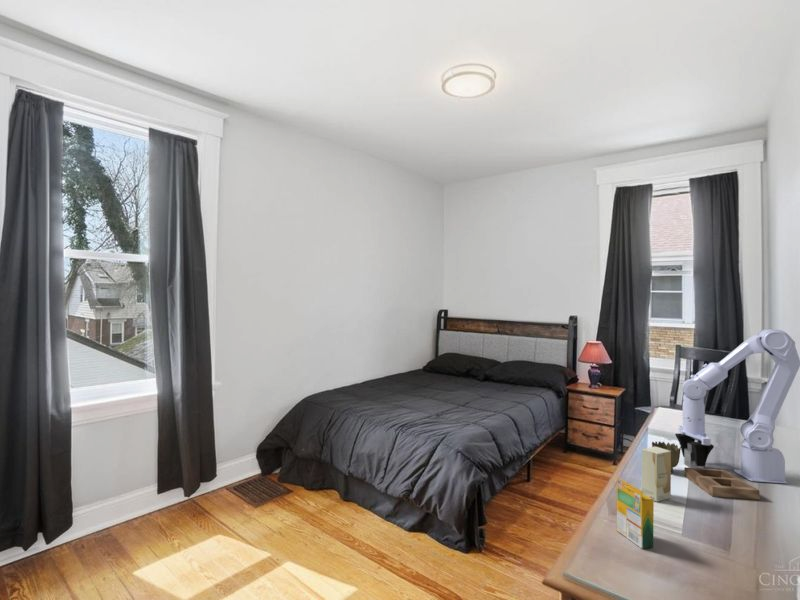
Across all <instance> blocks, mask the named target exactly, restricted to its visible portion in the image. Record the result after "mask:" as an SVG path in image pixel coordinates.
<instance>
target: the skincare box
mask: <svg viewBox="0 0 800 600" xmlns="http://www.w3.org/2000/svg"><path fill="white" fill-rule="evenodd" d="M640 470H641V472H640V473H641V479H640V481H641V482H640V483H641V484H640V490H641V491H642V494H644V495H646V496H648V497H650V498H652V499H653V500H654V502H661V501H666V500H669V499H671V496H672V495H671V494H672V493H671V490H672V487H671V485H672V481H671V480H672V476H671V475H672V474H671V473H672V472H671V451H669V450H666V449H662V448H659V447H652V446H650V447H649V446H648V447H647V448H641V469H640Z"/></svg>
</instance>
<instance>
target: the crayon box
mask: <svg viewBox="0 0 800 600" xmlns="http://www.w3.org/2000/svg"><path fill="white" fill-rule="evenodd" d="M654 502H655V501H654V500H653V499H652V498H650V497H648V496H646V495H644V494H642V491H641V488H640V489H639V488H638V487H636V486H635V485H632V484H630V483H628V482H626V481H625V480H623V479H622V478H619V477H616V532H618V533H619V534H621V535H622V536H624V537H625V538H626V539H628V540H629V541H630V542H632V543H634V545H636V546H637V547H639V548H640V549H642V550H643V549H644V550H645V549H651V548H654V518H655V517H654V507H655V505H654V504H655V503H654Z"/></svg>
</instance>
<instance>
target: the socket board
mask: <svg viewBox="0 0 800 600" xmlns="http://www.w3.org/2000/svg"><path fill="white" fill-rule="evenodd" d="M683 468H684V477H685V478H687V479H688V480H689V481H690V482H692V483H693V484H695V485H696V486H697V487H699V488H700V489H701V490H703V491H704V492H706V494H708V495H709V496H712V498H713V497H714V498H725V499H726V498H727V499H739V500H741V499H742V500H753V501H760V490H759V489H758V488H756V487H754V486H753V485H751V484H749V483H748V482H747V481H744V480H743V479H741V478H739V477H738V476H737V475H735V474H733V473H732V472H730V471H727V470H726V469H714V468H703V469H700V468H689V467H687V466H686V467H683Z"/></svg>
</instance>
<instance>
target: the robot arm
mask: <svg viewBox="0 0 800 600" xmlns="http://www.w3.org/2000/svg"><path fill="white" fill-rule="evenodd" d="M766 352H767V353H768V355H769V356H770V357H771V359H772V360H773V362H775V364H774V366H773V369H772V371H771V373H770V376H769V378H768V380H767V382H766V385H765V386H764V389H763V391H762V393H761V395H760V398H759V400H758V402H757V404H756V407H755V409H754V411H753V412H752V413H751V415H750V416H749V418H748V419H747V420H746V421H745V422H743V424H741V426H740V429H739V430H740V434H741V435H742V437H743V440H742V441H741V442H740V469H733V472H734V473H737V475H739V476H741V477H743V478H745V479H747V480H748V481H750V482H756V483H757V482H759V483H760V482H761V483H771V484H772V483H775V484H786V485H787V484H788V481H787V480H786V459H785V456H784V453H782V451H781V450H780V449H779V448H775V447H772V446H773V445H774V441H775V439H774V432H775V429H776V419H777V417H778V416H779V413H780V411H781V409H782V406H783V404H784V402H785V400H786V398H787V396H788V393H789V391H790V389H791V387H792V384H793V382H794V381H795V378H796V376H797V373H798V372H799V369H800V357H799V353H798V350H797V347H796V342H795V340H794V338H792V336H790V334H788V333H787V332H785V331H784V330H781V329H773V328H765V329H761V330H760V331H758V333H756V334H754V335H752V336H750V337H749V338H747V339H745V340H744V341H743V342H742V343H740V344H739V345H738V346H737V347H736V348H734V349H733V350H732V351H731V352H730V353H728V354H727V355H726V356H725V357H724V358H722V359H721V360H720V361H718V362H709V363H708V364H707V363H705V364H703V365H702V369H700V370H699V371H698V372H696V374H691V375H690V378H689V379H686V380H685V381H683V383H682V385H681V391H682V392H683V397H682V400H683V401H682V425H678V433H675V435H674V436H675V437H676V439H677V441H678V443H679V446H680V447H681V450H680V451H681V454H682V457H683V458H684V449H687V443H691V445H692V447H693V450H694V455H695V462H696V465H697V466H703V467H705V466H706V464H707V461H708V460H707V459H708V457H709V455H710V453H711V451H712V450H713V449H714V445H713V444H711V438H709V437H708V435H707V434H706V433H705V432H706V431H705V430H706V428H705V427H706V425H705V424H706V420H705V419H706V418H705V417H706V415H705V414H706V405H705V397H706V395H707V391H710V390H712V389H713V388H715V387H716V386H718V384H720V383H721V382H722V381H724V380H725V379H727V378H728V377H729V375H728V372H729V370H731V369H733V367H735V366H737V365H738V364H739V363H741V362H742V361H744V360H746V359H747V358H748V357H750V356H751V355H753V354H762V353H766Z"/></svg>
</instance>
